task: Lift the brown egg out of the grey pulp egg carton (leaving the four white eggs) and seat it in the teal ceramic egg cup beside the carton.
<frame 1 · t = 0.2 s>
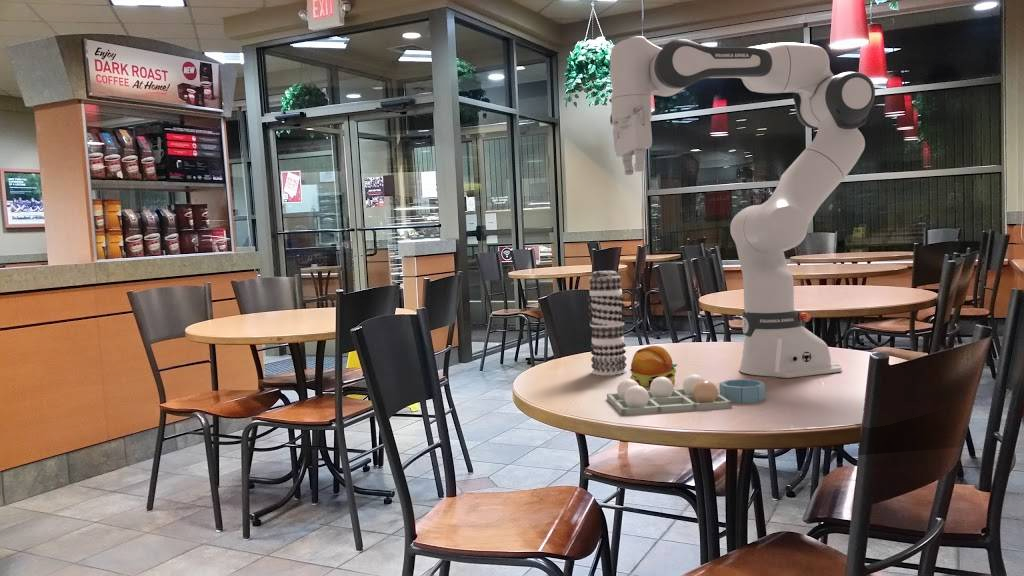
hand: (634, 173, 172), 48 cm above the table, fingers open, 8 cm apart
egg carton: (667, 406, 149), on the table
egg cup: (742, 401, 150), on the table
cheeseburger: (654, 387, 168), on the table
brown egg: (706, 404, 146), point 1 cm above the table, touching egg carton
black white tall cylinder: (609, 373, 188), on the table
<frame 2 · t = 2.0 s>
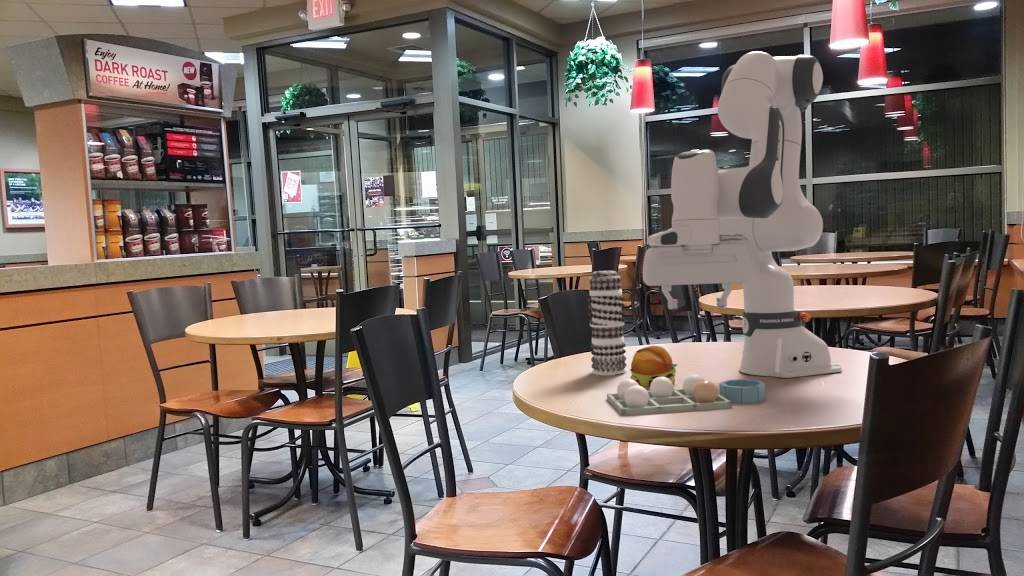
hand: (697, 308, 145), 19 cm above the table, fingers open, 8 cm apart
nothing on the table moved.
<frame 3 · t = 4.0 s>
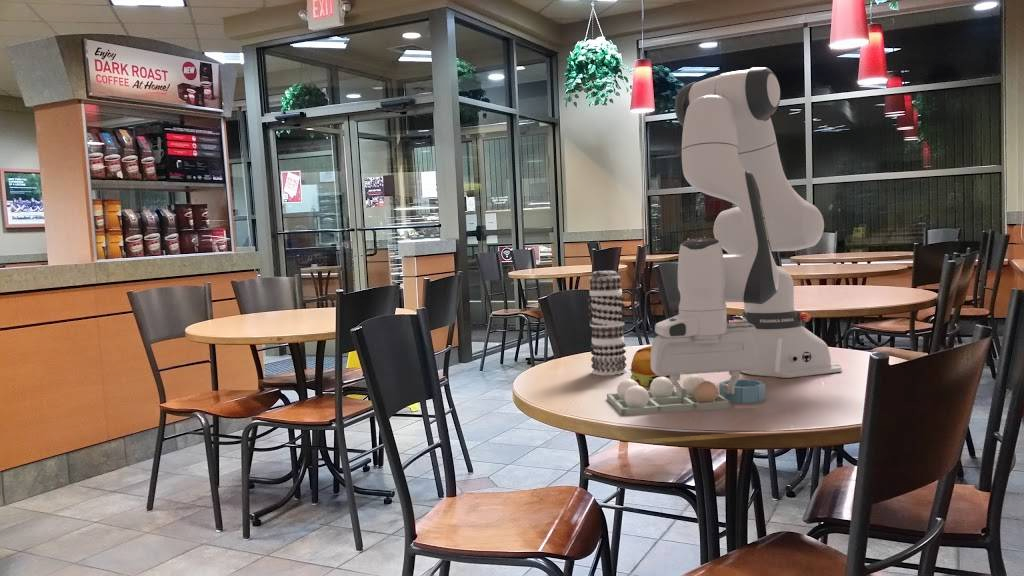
hand: (705, 395, 146), 2 cm above the table, fingers open, 8 cm apart
nothing on the table moved.
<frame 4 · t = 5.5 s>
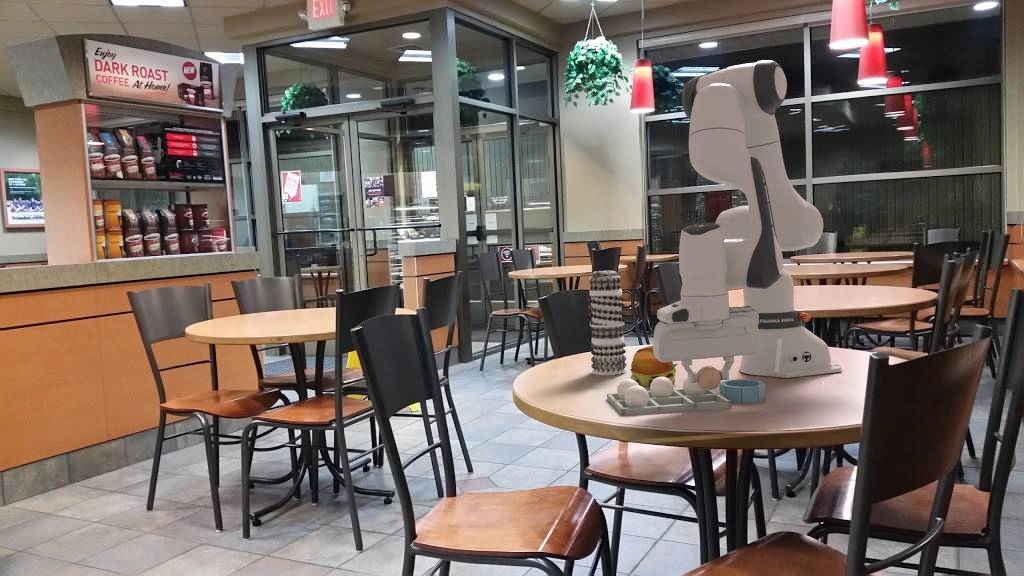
hand: (708, 380, 146), 5 cm above the table, fingers closed on brown egg, 5 cm apart
brown egg: (709, 389, 146), point 3 cm above the table, touching gripper
everything else where it was.
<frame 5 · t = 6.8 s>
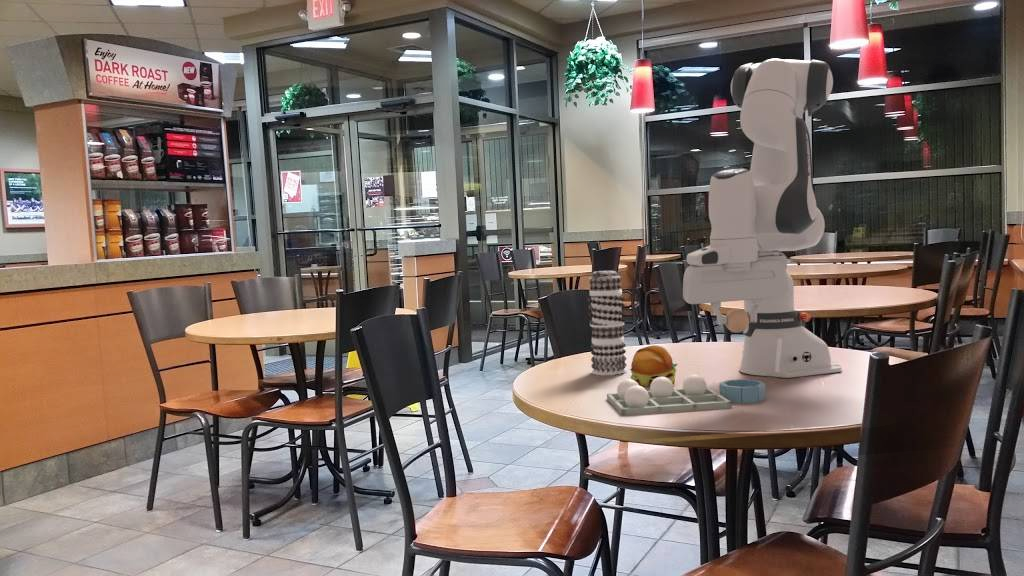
hand: (737, 323, 149), 15 cm above the table, fingers closed on brown egg, 5 cm apart
brown egg: (737, 332, 149), point 14 cm above the table, touching gripper
everything else where it was.
when the fingers open (6 cm above the table, at t = 9.3 s): brown egg drops 4 cm, resting on egg cup.
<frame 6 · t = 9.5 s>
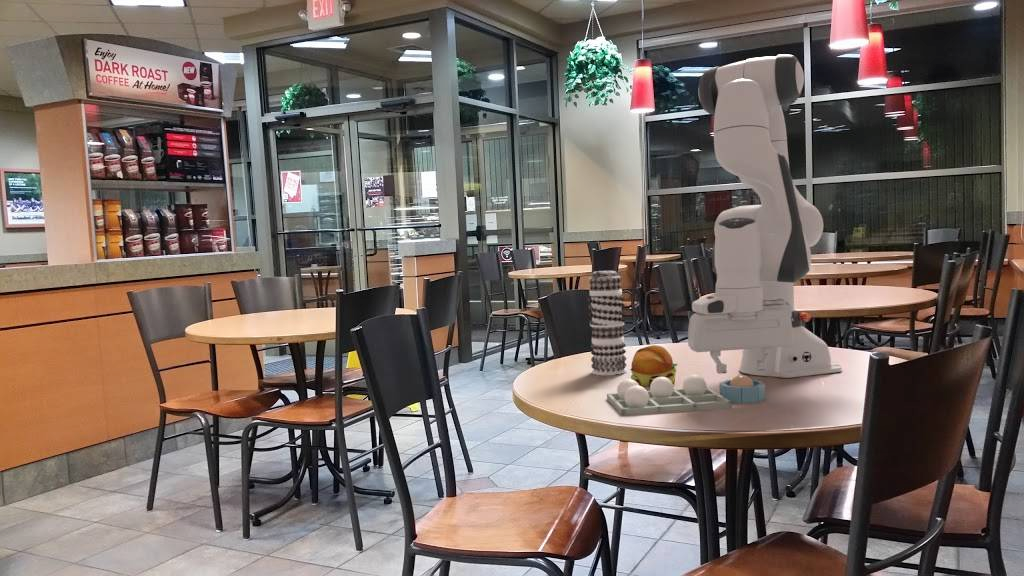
hand: (741, 371, 149), 6 cm above the table, fingers open, 7 cm apart
brown egg: (742, 398, 150), point 1 cm above the table, touching egg cup
everything else where it was.
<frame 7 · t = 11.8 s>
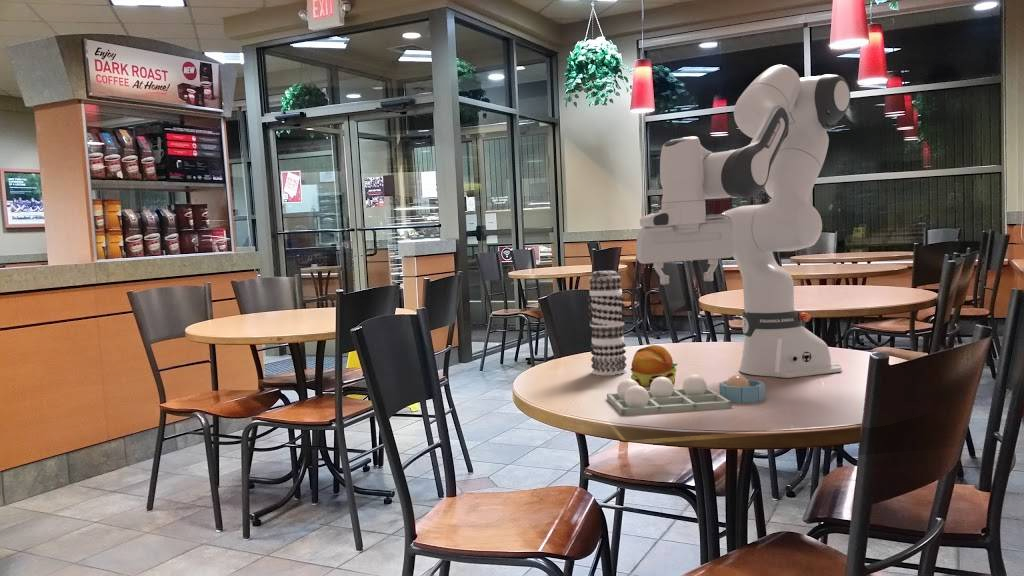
hand: (686, 282, 158), 23 cm above the table, fingers open, 8 cm apart
brown egg: (742, 397, 150), point 1 cm above the table, tilted 23°, touching egg cup
everything else where it was.
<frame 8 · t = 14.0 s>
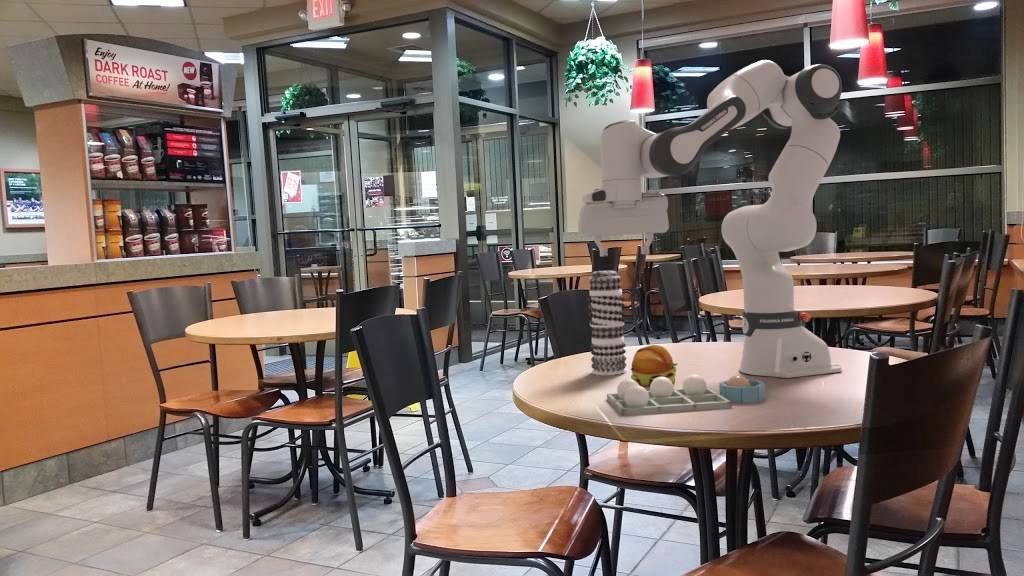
hand: (624, 255, 172), 29 cm above the table, fingers open, 8 cm apart
nothing on the table moved.
at the end: brown egg 0.0 cm from the egg cup (horizontally); brown egg point 0.8 cm above the table; the gripper is holding nothing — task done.
